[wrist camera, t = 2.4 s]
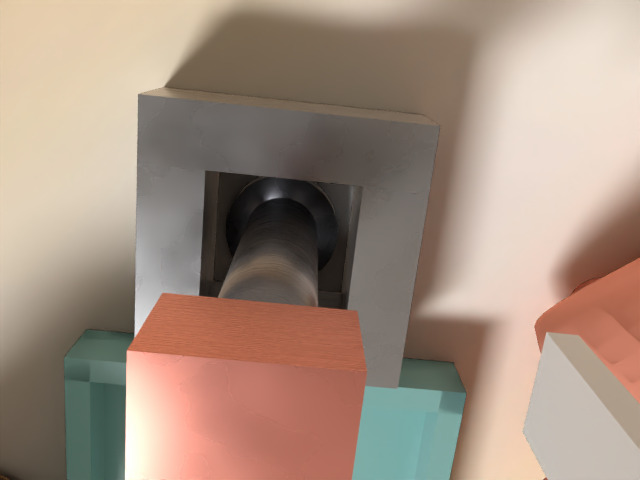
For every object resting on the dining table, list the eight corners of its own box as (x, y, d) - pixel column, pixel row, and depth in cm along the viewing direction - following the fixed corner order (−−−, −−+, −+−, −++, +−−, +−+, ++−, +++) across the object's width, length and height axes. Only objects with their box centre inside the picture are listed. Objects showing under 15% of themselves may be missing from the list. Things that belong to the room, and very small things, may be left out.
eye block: (157, 325, 26) (133, 365, 23) (163, 87, 23) (138, 94, 20) (387, 346, 27) (397, 389, 23) (422, 114, 24) (440, 126, 20)
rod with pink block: (226, 270, 26) (113, 552, 11) (232, 166, 24) (114, 338, 10) (330, 280, 26) (349, 570, 12) (342, 178, 25) (380, 362, 10)
